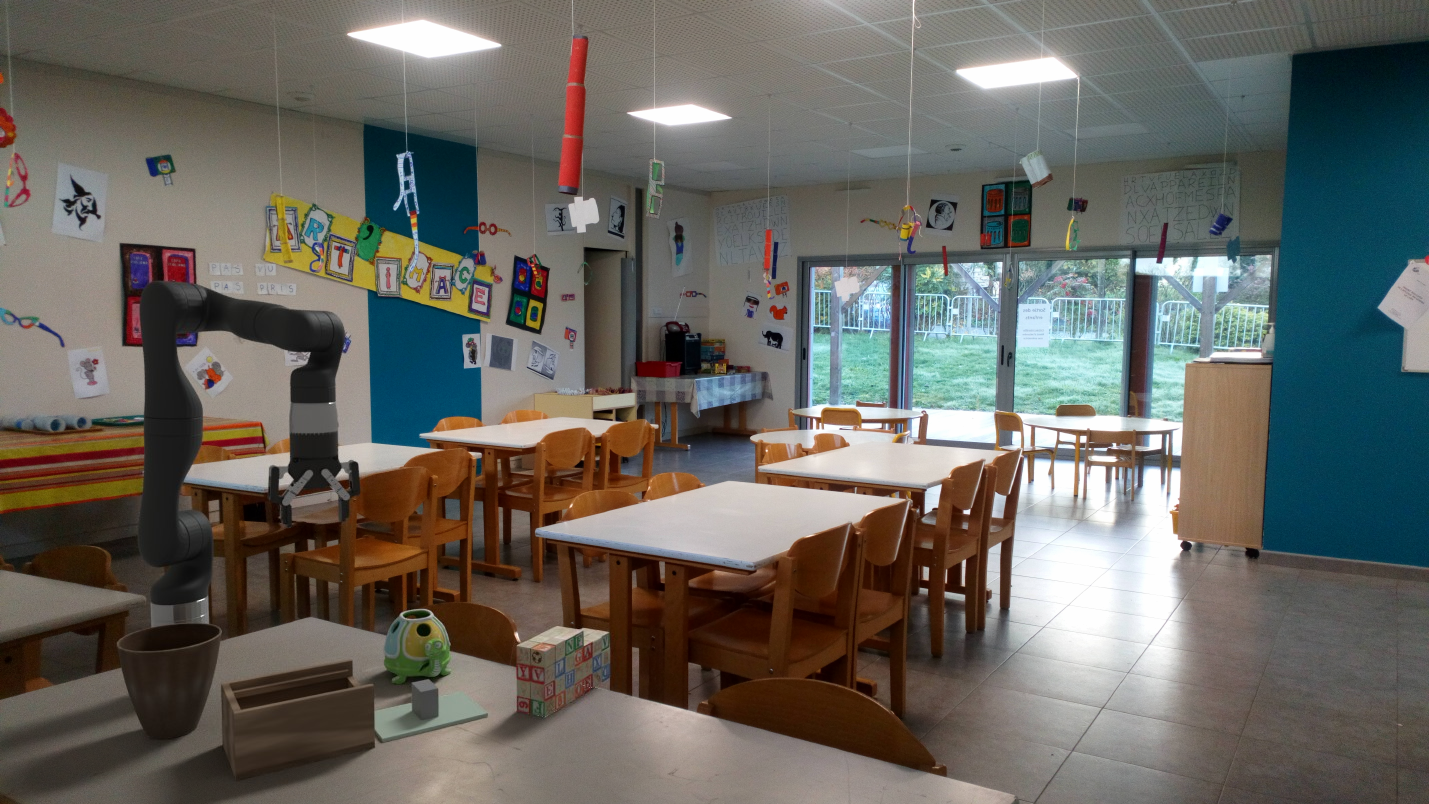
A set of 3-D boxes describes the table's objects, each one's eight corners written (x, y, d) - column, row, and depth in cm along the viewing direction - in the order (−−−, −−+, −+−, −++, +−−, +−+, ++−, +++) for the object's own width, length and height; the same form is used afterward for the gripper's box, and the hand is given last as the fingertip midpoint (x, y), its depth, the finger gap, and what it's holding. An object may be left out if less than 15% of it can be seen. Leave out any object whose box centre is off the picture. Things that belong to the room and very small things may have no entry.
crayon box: (222, 744, 147) (220, 682, 147) (352, 715, 159) (351, 658, 158) (236, 780, 135) (234, 713, 135) (374, 747, 147) (374, 685, 146)
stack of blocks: (583, 673, 181) (583, 612, 180) (610, 678, 178) (610, 616, 177) (515, 712, 162) (515, 644, 161) (544, 718, 159) (544, 649, 158)
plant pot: (217, 704, 163) (214, 616, 162) (230, 734, 151) (227, 640, 150) (117, 724, 154) (114, 631, 153) (122, 758, 142) (119, 657, 141)
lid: (362, 720, 159) (361, 685, 158) (462, 697, 169) (462, 664, 169) (382, 745, 149) (382, 708, 149) (487, 719, 160) (487, 685, 159)
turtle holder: (405, 699, 167) (404, 635, 166) (375, 669, 181) (374, 610, 180) (470, 684, 174) (470, 623, 173) (436, 657, 189) (435, 600, 188)
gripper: (352, 425, 161) (353, 516, 162) (263, 429, 153) (265, 524, 154) (363, 429, 155) (364, 523, 156) (271, 433, 147) (273, 532, 148)
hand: (315, 523), depth 155 cm, fingers open, 8 cm apart
